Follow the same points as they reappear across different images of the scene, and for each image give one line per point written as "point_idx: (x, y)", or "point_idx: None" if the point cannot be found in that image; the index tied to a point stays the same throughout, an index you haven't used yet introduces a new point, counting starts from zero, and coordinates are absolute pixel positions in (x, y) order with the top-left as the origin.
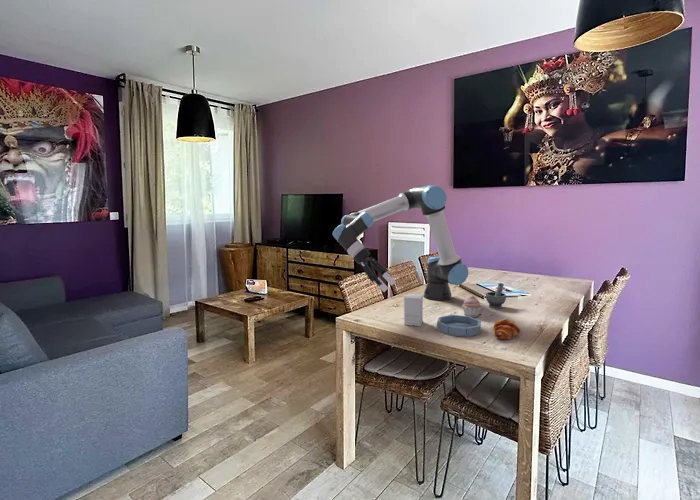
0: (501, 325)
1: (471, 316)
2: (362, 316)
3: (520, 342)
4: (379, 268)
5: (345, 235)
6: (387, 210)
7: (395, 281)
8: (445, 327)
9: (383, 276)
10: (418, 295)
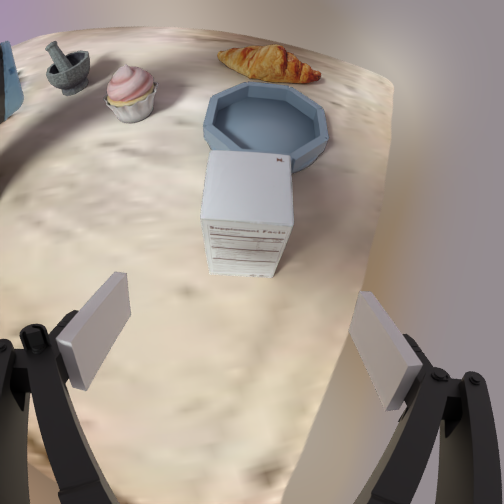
0: (294, 59)
1: (152, 108)
2: (204, 466)
3: None
4: (79, 427)
5: None
6: None
7: (113, 273)
8: (320, 147)
9: (90, 376)
10: (232, 163)
